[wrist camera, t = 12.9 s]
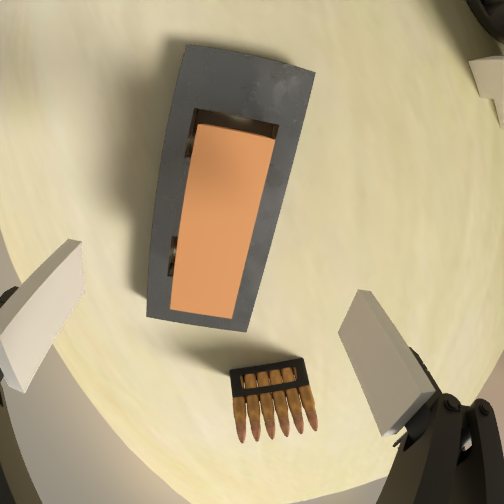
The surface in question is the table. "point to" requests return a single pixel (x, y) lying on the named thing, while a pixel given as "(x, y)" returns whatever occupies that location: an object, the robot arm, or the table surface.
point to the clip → (218, 218)
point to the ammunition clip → (272, 397)
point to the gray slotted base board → (178, 160)
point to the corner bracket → (490, 81)
